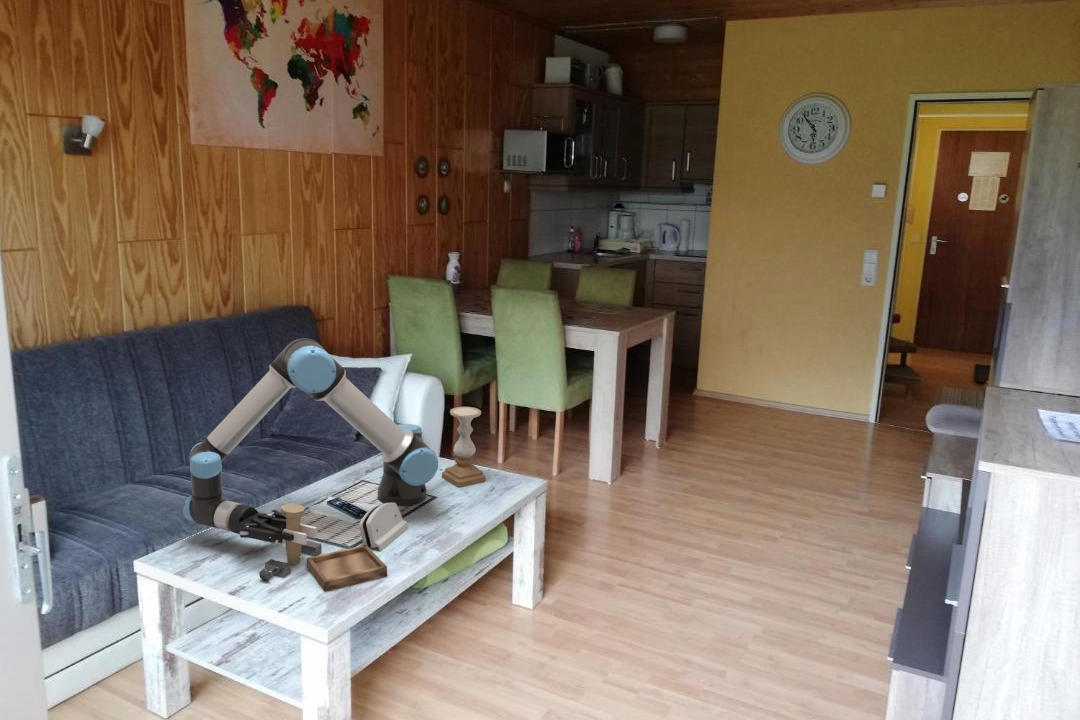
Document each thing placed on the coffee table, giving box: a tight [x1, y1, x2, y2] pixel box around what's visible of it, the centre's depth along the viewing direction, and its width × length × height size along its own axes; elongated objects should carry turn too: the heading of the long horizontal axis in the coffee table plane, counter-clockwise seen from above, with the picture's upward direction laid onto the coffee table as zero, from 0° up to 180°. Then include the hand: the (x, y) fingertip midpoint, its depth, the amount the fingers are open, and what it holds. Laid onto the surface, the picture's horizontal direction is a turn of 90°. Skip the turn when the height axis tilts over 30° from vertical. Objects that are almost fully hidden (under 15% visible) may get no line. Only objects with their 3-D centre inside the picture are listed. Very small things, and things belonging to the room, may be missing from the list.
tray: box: [305, 545, 388, 592], centre depth 201 cm, size 16×14×2 cm
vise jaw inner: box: [301, 540, 323, 557], centre depth 210 cm, size 2×6×2 cm, turn 69°
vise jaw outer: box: [258, 558, 292, 582], centre depth 197 cm, size 6×6×3 cm
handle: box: [280, 502, 306, 565], centre depth 203 cm, size 5×6×15 cm
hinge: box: [358, 503, 410, 552], centre depth 221 cm, size 17×5×10 cm, turn 162°
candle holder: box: [441, 406, 487, 488], centre depth 263 cm, size 11×11×24 cm
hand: (310, 536), depth 201 cm, fingers closed on handle, 3 cm apart
